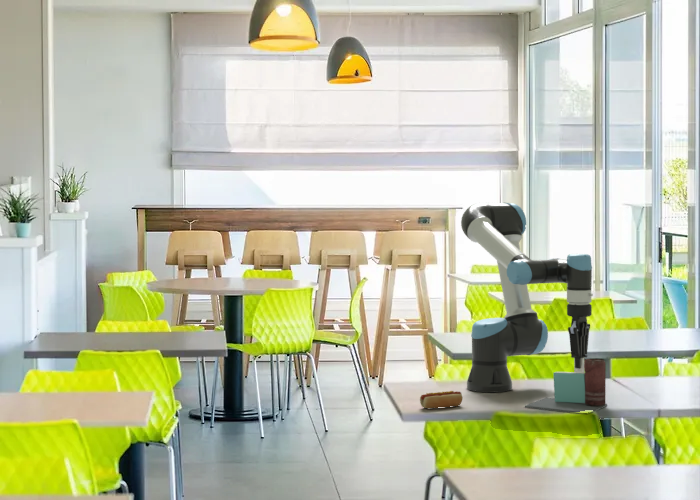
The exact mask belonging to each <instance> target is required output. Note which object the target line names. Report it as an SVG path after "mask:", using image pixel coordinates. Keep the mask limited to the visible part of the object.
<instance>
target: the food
mask: <svg viewBox="0 0 700 500" xmlns="http://www.w3.org/2000/svg"><path fill="white" fill-rule="evenodd" d="M463 397H464V396H463V395H462V392H461V391H454V390H450V391H438V392H437V391H436V392H429V393H427V392H426V394H421V396H420V397H419V403H420V407H422V408H423V407H424V408H438V407H450V406H456V407H459V406H461V404H462V402H463ZM458 405H459V406H458ZM424 408H423V409H424Z"/></svg>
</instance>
